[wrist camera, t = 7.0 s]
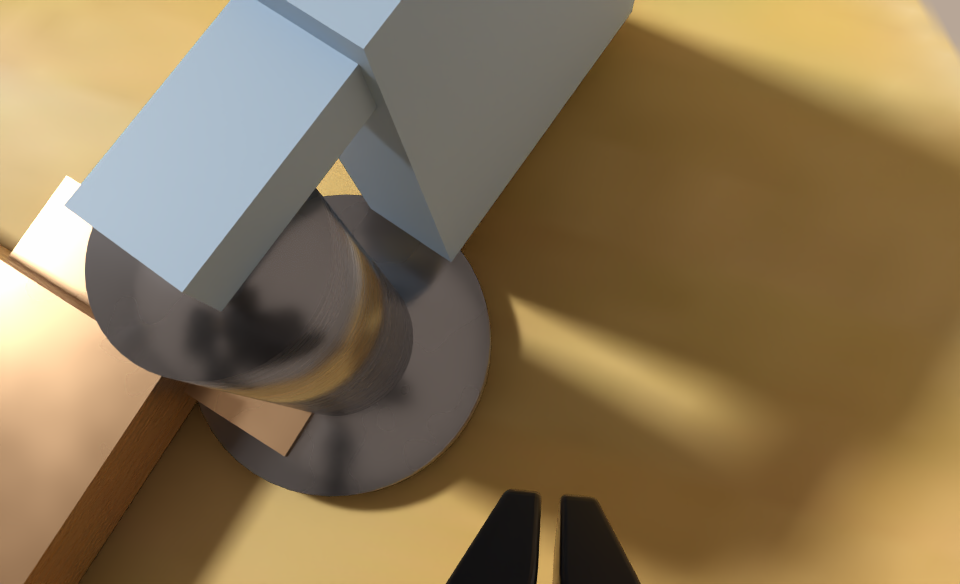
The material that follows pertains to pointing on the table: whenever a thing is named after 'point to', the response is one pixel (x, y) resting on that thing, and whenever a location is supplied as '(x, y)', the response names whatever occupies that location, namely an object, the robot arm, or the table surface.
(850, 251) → the table surface
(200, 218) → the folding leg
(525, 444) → the table surface
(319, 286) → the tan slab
